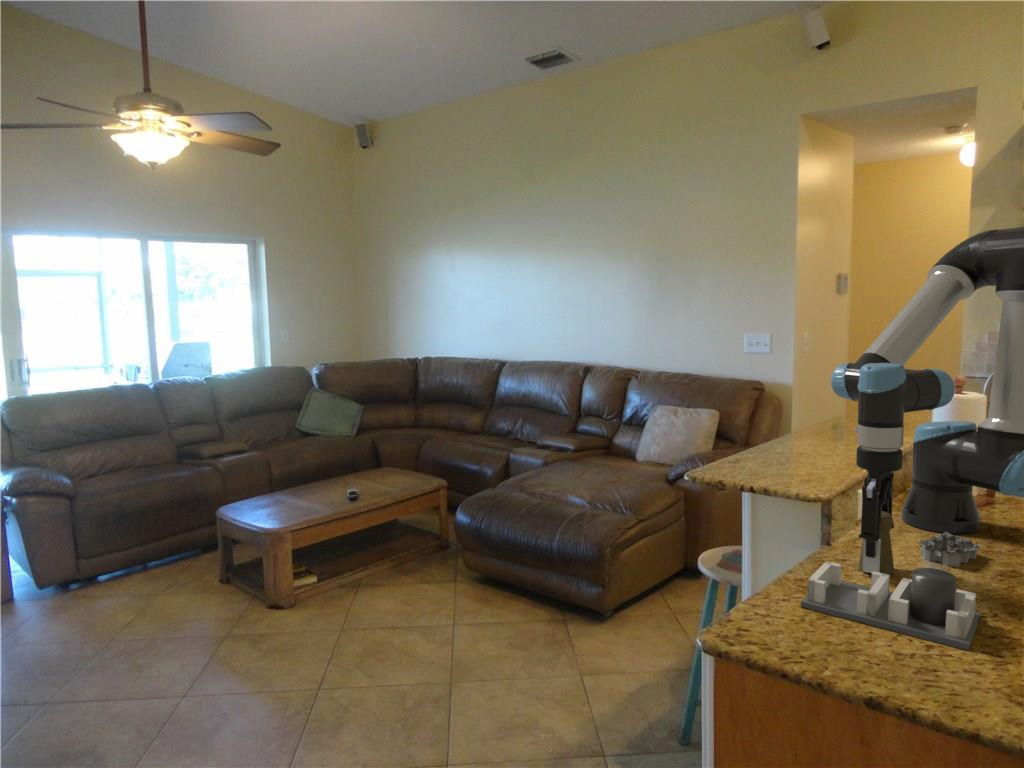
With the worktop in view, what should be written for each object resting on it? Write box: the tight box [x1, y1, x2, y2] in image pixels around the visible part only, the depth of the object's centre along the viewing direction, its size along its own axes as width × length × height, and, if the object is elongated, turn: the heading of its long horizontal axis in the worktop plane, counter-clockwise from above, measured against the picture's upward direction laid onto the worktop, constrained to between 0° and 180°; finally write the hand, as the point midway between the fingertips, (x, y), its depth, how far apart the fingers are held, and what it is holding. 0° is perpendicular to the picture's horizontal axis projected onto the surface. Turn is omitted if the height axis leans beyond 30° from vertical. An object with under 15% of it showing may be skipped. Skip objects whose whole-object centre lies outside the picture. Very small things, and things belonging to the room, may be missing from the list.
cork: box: [858, 511, 895, 575], centre depth 132 cm, size 6×6×11 cm
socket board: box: [800, 560, 981, 652], centre depth 115 cm, size 13×24×8 cm, turn 50°
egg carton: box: [919, 532, 981, 568], centre depth 138 cm, size 11×8×4 cm
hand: (875, 566), depth 132 cm, fingers closed on cork, 6 cm apart
